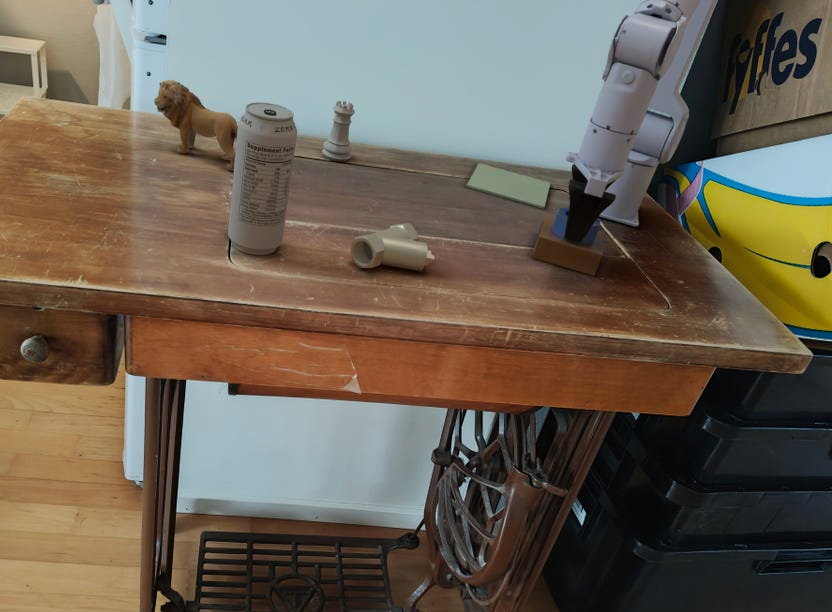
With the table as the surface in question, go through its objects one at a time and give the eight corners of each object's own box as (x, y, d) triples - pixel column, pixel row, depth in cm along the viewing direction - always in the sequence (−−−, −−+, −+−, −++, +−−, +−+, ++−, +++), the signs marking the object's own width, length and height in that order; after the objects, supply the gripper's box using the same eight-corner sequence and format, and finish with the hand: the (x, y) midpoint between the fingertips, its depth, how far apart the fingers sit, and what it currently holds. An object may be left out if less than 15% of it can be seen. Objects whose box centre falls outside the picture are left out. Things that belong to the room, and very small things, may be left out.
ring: (553, 221, 96) (559, 203, 95) (593, 232, 95) (600, 215, 94) (550, 235, 92) (557, 217, 90) (592, 248, 91) (600, 229, 89)
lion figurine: (146, 147, 99) (148, 80, 94) (166, 138, 104) (168, 73, 99) (245, 176, 97) (252, 109, 92) (261, 165, 102) (268, 100, 97)
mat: (478, 165, 119) (478, 162, 119) (549, 185, 118) (550, 182, 117) (466, 187, 110) (466, 184, 109) (543, 209, 108) (544, 206, 108)
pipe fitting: (434, 273, 85) (391, 245, 87) (444, 244, 82) (400, 216, 85) (391, 290, 79) (347, 260, 82) (401, 260, 77) (355, 230, 80)
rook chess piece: (347, 164, 108) (357, 110, 104) (318, 157, 108) (327, 103, 104) (352, 155, 112) (362, 103, 108) (324, 148, 112) (332, 96, 108)
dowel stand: (537, 235, 99) (554, 186, 95) (595, 252, 98) (615, 204, 94) (531, 257, 92) (550, 206, 88) (594, 276, 91) (615, 225, 87)
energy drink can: (279, 235, 84) (296, 105, 76) (283, 259, 80) (302, 123, 71) (226, 230, 83) (238, 97, 75) (227, 254, 78) (240, 115, 70)
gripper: (582, 104, 92) (547, 204, 100) (577, 132, 80) (538, 242, 88) (638, 119, 91) (598, 218, 99) (641, 149, 79) (596, 259, 87)
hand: (573, 231), depth 93 cm, fingers closed on ring, 5 cm apart
